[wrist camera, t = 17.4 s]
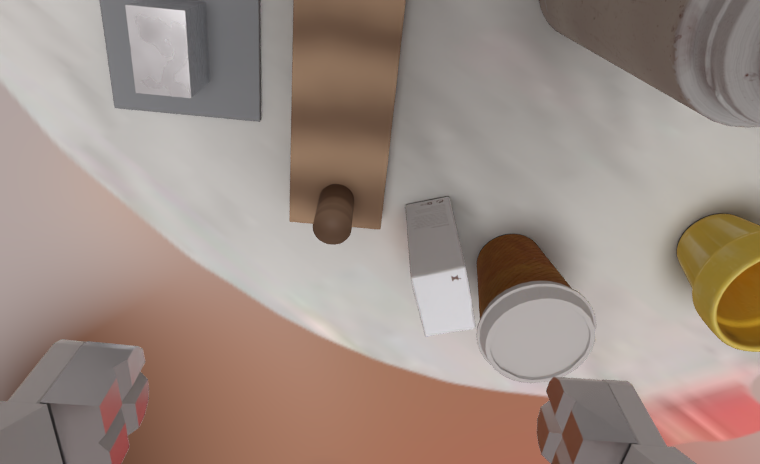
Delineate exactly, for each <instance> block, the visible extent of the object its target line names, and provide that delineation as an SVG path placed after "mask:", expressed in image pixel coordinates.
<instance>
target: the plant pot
mask: <svg viewBox="0 0 760 464" xmlns="http://www.w3.org/2000/svg"><path fill="white" fill-rule="evenodd" d="M677 258H678V261H679V263H680V265H681V267H682V269H683V271H684V273H685V275H686V277H687V279H688V281H689V283H690V285H691V287H692V289H693V291H692V297H693V303H694V306H695V309H696V311H697V313H698V314H699V316H700V317H701V318H702V320H703V321H704V322H705V324H706V325H707V326H708V327H709V328H710V330H711V331H712V332H713V333H714V334H715V335H716V336H717V337H718V338H719V339H720V340H721V341H722V342H724V343H725V344H727V345H729V346H731V347H733V348H736V349H739V350H743V351H751V352H760V225H757V224H755V223H752V222H750V221H747V220H745V219H742V218H740V217H737V216H735V215H731V214H715V215H710V216H707V217H705V218H703V219H701V220H699V221H697V222H695V223H694V224H693V225H692V226H690V227H689V228H688V229H687V230H686V231H685V232H684V234H683V235H682V237H681V239H680V241H679V243H678V247H677Z"/></svg>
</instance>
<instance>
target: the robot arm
mask: <svg viewBox="0 0 760 464" xmlns="http://www.w3.org/2000/svg"><path fill="white" fill-rule="evenodd" d="M144 363H145V359H144V353H143V349H142V348H140V347H138V346H130V345H119V344H109V343H99V342H82V341H72V340H63V339H61V340H59V341H57V342H56V343H54V344H53V345H52V346H51V347H50V349H49V350H48V351H47V353H46V354H45V355H44V356H43V357H42V359H41V360H40V361H39V362H38V364H37V365H36V366H35V367H34V369H33V370H32V371H31V372H30V374H29V375H28V376H27V378H26V379H25V380H24V381H23V382H22V384H21V385H20V386H19V387H18V389H17V390H16V391H15V392H14V394H13V395H12V396H11V397H10V399H9V400H8V401H0V464H121V463H122V461H123V459H124V457H125V455H126V453H127V451H128V449H129V441H128V435H129V434H131V433H132V432H133V431H135V430H136V429H138V428H139V426H140V424H141V422H142V420H143V418H144V416H145V412H146V408H147V404H148V400H149V385H148V379H147V378H146V377H145V376H144V375H143V374H142V373H141V372H140V371H141V369H142V367H143V365H144ZM546 392H547V395H548V398H549V400H550V401H548V402H547V403H546V404H544V405H543V406H542V407H541V408H540V412H539V415H538V419H537V437H538V444H539V448H540V451H541V454H542V456H543V457H545V458H546V459H547V460H548V461H549V462H550V463H551V464H696V463H695V462H694V461H692V460H691V459H690V458H688V457H687V456H686V455H684V454H683V453H681V452H680V451H679V450H678V449H676V448H675V447H667V445H666V444H665V442H664V440H663V438H662V437H661V435H660V433H659V431H658V429H657V428H656V426H655V424H654V422H653V421H652V419H651V417H650V415H649V414H648V412H647V410H646V408H645V406H644V405H643V403H642V401H641V399H640V398H639V396H638V394H637V392H636V391H635V389H634V387H633V385H632V384H630V383H629V382H628V381H617V380H595V379H580V378H565V377H553V378H552V379H551V380H550V382H549V384H548V387H547V390H546Z"/></svg>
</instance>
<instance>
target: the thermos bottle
mask: <svg viewBox="0 0 760 464" xmlns="http://www.w3.org/2000/svg"><path fill="white" fill-rule="evenodd" d="M539 1H540V7H541V10H542V12H543V15H544V17H545V18H546V20H547V21H548V23H549V24H550V25H551V26H552V27H553V28H554V29H555V30H556V31H557V32H559V33H561V34H562V35H564V36H566V37H567V38H569V39H571V40H573V41H574V42H576V43H578V44H580V45H581V46H583V47H585V48H587V49H588V50H590V51H592V52H594V53H595V54H597V55H599V56H601V57H602V58H604V59H606V60H607V61H609V62H611V63H613V64H614V65H616V66H618V67H620V68H621V69H623V70H625V71H627V72H628V73H630V74H632V75H634V76H635V77H637V78H639V79H640V80H642V81H644V82H646V83H647V84H649V85H651V86H653V87H654V88H656V89H658V90H660V91H661V92H663V93H665V94H667V95H668V96H670V97H672V98H674V99H675V100H677V101H679V102H680V103H682V104H684V105H686V106H687V107H689V108H691V109H693V110H694V111H696V112H698V113H700V114H701V115H703V116H705V117H707V118H708V119H710V120H712V121H714V122H718V123H721V124H724V125H728V126H735V127H757V126H759V127H760V0H539Z"/></svg>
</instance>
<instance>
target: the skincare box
mask: <svg viewBox="0 0 760 464" xmlns="http://www.w3.org/2000/svg"><path fill="white" fill-rule="evenodd" d="M405 209H406V221H407V235H408V247H409V260H410V273H411V281H412V286H413V291H414V295H415V299H416V303H417V306H418V310H419V314H420V318H421V322H422V326H423V330H424V334H425V336H426V337H428V336H433V335H439V334H445V333H451V332H457V331H464V330H471V329H475V328H476V325H475V319H474V313H473V307H472V298H471V294H470V287H469V282H468V276H467V271H466V266H465V261H464V256H463V252H462V249H461V244H460V240H459V236H458V232H457V228H456V223H455V219H454V215H453V210H452V206H451V202H450V198H449V197H444V198H438V199H433V200H428V201H424V202H418V203H413V204H408V205H406V206H405Z"/></svg>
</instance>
